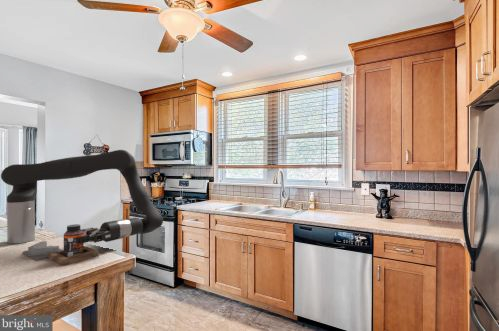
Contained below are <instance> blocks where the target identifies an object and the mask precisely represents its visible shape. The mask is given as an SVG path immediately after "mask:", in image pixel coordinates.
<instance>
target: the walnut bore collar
mask: <svg viewBox="0 0 499 331" xmlns="http://www.w3.org/2000/svg"><path fill="white" fill-rule="evenodd" d="M83 246H84V251H83V252H84V253H81V254H77V255H73V256H69V257H65V256H64V249H61V250H62V251H57V252H53V253H49V254H48V259H49V260H51V261H53V262H54V263H56V264H59V265H61V266H67V265H71V264H76V263H77V262H81V261H86V260H89V259H92V258H96V256H97V257H99V254H100V252H99V250H96V249H95V248H94V249H93V248H91V247H88V246H85V245H83Z"/></svg>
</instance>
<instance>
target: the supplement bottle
mask: <svg viewBox="0 0 499 331" xmlns="http://www.w3.org/2000/svg"><path fill="white" fill-rule="evenodd" d="M83 234H84V233H83V231H82V229H81V224H69V225H67V226H66V230H65V232H64V233H63V250H64V256H65V257H69V256H73V255H77V254H81V253H84V252H83V251H84V246H85V243H81V244H77V243H76V239H77V238H78V237H82V236H84V235H83Z"/></svg>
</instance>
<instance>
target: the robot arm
mask: <svg viewBox="0 0 499 331" xmlns="http://www.w3.org/2000/svg"><path fill="white" fill-rule="evenodd" d="M137 167H138V166H137V164H136V160H135V157H134V156H133V154H131V153H130V152H129V151H127V150H125V149H116V150H112V151H107V152H104V153H100V154H90V155H79V156H72V157H64V158H60V159H54V160H53V159H52V160H49V161H43V162H40V163H39V162H38V163H28V164H27V163H26V164H23V163H21V164H19V163H18V164H11V165H8V166H6V167H5V168H3V170H2V171H1V175H0V178H1V180H2V182H3V183H5V184H6V185H8V186H12V190H11V192H10V193H9V194H8V195H7V196H6V227H7V228H6V232H7V233H6V234H7V235H6V236H7V237H6V238H7V239H6V241H7V244H11V245H13V244H22V243H28V242H31V241H34V240H36V219H35V217H36V211H35V209H36V207H35V204H36V202H35V201H36V200H35V197H36V194H37V191H38V182H39V181H50V180H51V181H52V180H71V179H76V178H82V177H85V176H89V175H91V174H93V173H96V172H99V171H103V170H104V171H105V170H106V171H107V170H117V171H119V173H120V174H121V175H122V177H123V178H124V180H125V183H126V184H127V188H128V191H129V192H128V193H129V195H130V198H131V201H132V203H133V205H134V207H135V210H136V211H137V212H138V213H140V214H142V213H143V214H144V215H145V217H143V218H139V217H132V218H131V217H130V218H126V219H125V218H124V219H116V220H110V221H104V222H102V224H101V226H100V227H99V228H98V227H90V228H89V227H88V228H82V229H81V230H82V231H83V233H84V234H83V235H84V236H82V237H78V238H77V239H76V243H77V244H81V243H84V244H85V243H95V244H96V243H99V242H105V243H108V242H112V241H118V240H120V239H125V238H127V237H131V236H135V235H138V234H139V235H141V234H142V235H143V234H144V235H145V234H148V233H152V232H154V231H155V230H157V229H159V228H160V227H162V225H163V224H164V218H163V216H162V214H161V212H160V211H159V210H158V208H157V207H156V206H155V205H154V204H153V203H152V200H151V199H150V195H149V194H148V192H147V190H146V188H145V186H144V184H143V182H142V179H141V178H140V174H139V172H138V168H137Z"/></svg>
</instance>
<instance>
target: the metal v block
mask: <svg viewBox="0 0 499 331" xmlns="http://www.w3.org/2000/svg"><path fill="white" fill-rule="evenodd" d="M47 241H48V240H46V241H45V240H44V241H39V242H37V243H35V244H33V245H31V246H28V247H27V250H24V251H22V254H24V255H25V256H27V257H29V258H31V259H33V260H35V261H37V262H39V261H43V260H47V259H49V258H48V254H49V253H53V252H57V251H62V250H63V249H60V245H47V244H48V242H47Z"/></svg>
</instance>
